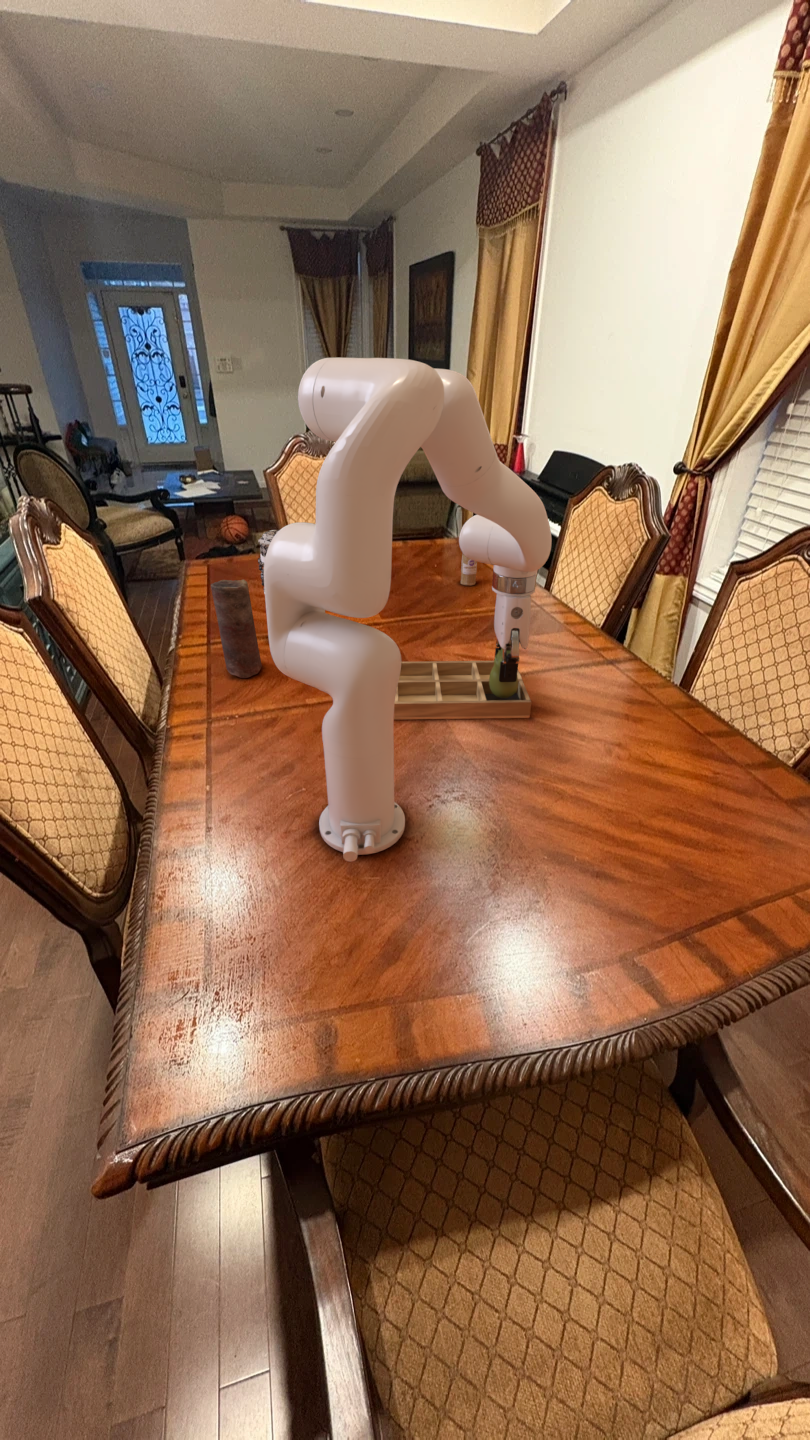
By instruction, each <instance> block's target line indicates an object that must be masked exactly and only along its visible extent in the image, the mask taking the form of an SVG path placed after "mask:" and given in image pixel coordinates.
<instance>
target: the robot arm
mask: <svg viewBox="0 0 810 1440" xmlns="http://www.w3.org/2000/svg"><path fill="white" fill-rule="evenodd" d="M297 401H298V402H297V403H298V404H297V405H298V410H299V413H300V416H301V419H302V420H303V422H304V424H305V426H306V427H307V428H308V429H309V430H310V431H311V433H312V434H314V435H315V436H317V437H318V438H320V439H322V440H325V441H328V442H335V443H333V446H331V448H330V449H329V452H328V453H327V455H326V457H325V458H324V460H323V463H322V464H321V467H320V469H319V473H318V476H317V480H316V485H315V486H316V487H315V523H313V522H305V521H301V522H298V521H297V522H291V523H289V524H287V525H284V526H282V528H280V529H278V530H279V531H278V532H277V533H276V535H275V536H274V537H273V539H272V541H271V542H270V545H269V547H268V550H267V553H266V556H265V562H264V568H263V569H264V586H263V589H265V594H264V600H265V615H266V614H267V615H266V625H267V637H268V644H269V651H270V655H271V659H272V661H273V663H274V665H275V667H276V668H277V669H278V670H279V672H280V673H282V674H283V675H285V676H286V677H288V678H291V679H292V680H295V681H298V682H300V683H302V684H305V685H308V686H309V687H313V688H315V689H317V690H319V691H321V692H323V693H326V694H327V695H329V696H330V697H331V698H332V705H331V706H330V708H329V709H328V710H327V712H326V713H325V714H324V716H323V718H322V725H321V739H322V743H323V746H322V747H323V757H324V759H323V760H324V770H325V781H326V782H325V783H326V794H327V804H328V805H326V807H325V808H323V811H322V812H321V813H320V816H319V822H318V828H319V833H320V836H321V838H322V840H323V841H324V842H325V843H326V844H327V845H328V846H329V847H331V848H332V849H334V850H336V851H338V852H340V853H342V859H343V860H344V861H346V862H351V863H353V862H355V861H356V860H357V859H358V856H360V855H362V856H364V855H372V854H376V853H379V852H382V851H385V850H387V849H388V848H391V847H392V846H394V844H396V843H397V842H398V841H399V839H401V837H402V835H403V834H404V831H405V828H406V816H405V813H404V810H403V809H402V807H401V806H400V805H399V804H398V802H396V801H395V735H394V732H395V731H394V729H395V727H394V723H395V721H394V704H395V696H396V691H397V686H398V681H399V676H400V671H401V662H402V654H401V650H400V648H399V646H398V644H397V643H396V642H395V640H394V639H393V638H392V637H391V636H389V635H388V634H386V633H385V632H383V631H381V630H379V629H378V628H375V627H373V626H370V625H367V624H364V623H361V622H357V621H354V620H351V619H349V618H357V619H368V618H371V617H375V616H376V615H378V614H380V612H382V611H383V610H384V608H385V607H386V605H387V603H388V601H389V597H390V593H391V585H392V563H393V562H392V560H393V559H392V558H393V526H394V524H393V521H394V519H393V518H394V504H395V497H396V493H397V492H396V491H397V488H398V484H399V482H400V480H401V477H402V475H403V473H404V472H405V469H406V468H407V466H408V465H409V464H410V461H411V460H412V459H413V457H414V456H415V455H416V453H417V452H418V450H419V449H420V448H421V449H422V451H423V453H424V455H425V457H426V458H427V461H428V463H429V465H430V467H431V469H432V471H433V474H434V475H435V478H436V479H437V482H438V484H439V486H440V488H441V490H442V492H443V494H444V495H445V496H446V498H448V499H449V500H450V501H451V502H453V503H455V504H456V505H458V506H460V507H462V508H463V509H465V510H467V511H468V512H469V511H470V512H471V513H472V514H475V515H473V516H471V517H470V518H468V519H467V520H466V521H465V522H464V524H463V525H462V527H461V529H460V531H459V536H458V544H459V546H458V547H459V549H460V551H461V553H463V554H464V555H465V556H466V557H468V558H469V559H471V560H474V561H477V563H481V564H487V565H491V566H493V569H492V570H493V571H492V583H491V591H492V592H494V593H495V594H496V598H495V607H494V618H493V628H494V629H493V630H494V633H495V636H496V643H495V646H496V647H495V648H494V649H495V650H494V657H495V656H496V654H497V653H498V650H501V648H503V657H502V662H500V672H499V681H500V682H516V680H517V671H518V670H519V663H520V646H521V649H523V650H527V649H528V648H529V645H530V643H529V642H530V629H531V615H532V611H531V610H532V597H531V596H532V595H533V594H534V593H536V587H537V579H538V570H539V569H541V568H542V567H543V566H544V565H545V564H546V562H547V561H548V559H549V557H550V554H551V551H552V540H553V539H552V530H551V526H550V525H551V524H550V522H549V518H548V514H547V511H546V508H545V505H544V503H543V501H542V499H541V498H540V497H539V495H538V494H537V492H535V490H533V489H532V487H530V485H528V484H527V483H526V482H525V481H524V480H523V479H522V478H521V477H520V476H518V475H517V473H515V472H514V470H512V469H510V468H509V467H508V466H507V465H505V464H504V463H503V462H502V461H500V459H499V456H498V453H497V451H496V448H495V444H494V442H493V439H492V436H491V434H490V431H489V427H488V424H487V421H486V418H485V416H484V413H483V410H482V407H481V404H480V401H479V398H478V395H477V392H476V390H475V388H474V386H473V384H472V383H471V381H470V380H469V379H468V378H467V377H466V376H465V375H464V374H462V373H460V372H458V371H455V370H452V369H446V368H434V367H432V366H430V365H429V364H427V363H424V362H421V361H417V360H414V359H409V358H395V357H394V358H393V357H338V356H337V357H324V358H321V359H318V360H316V361H315V362H313V363H311V364H310V366H308V368H306V370H305V372H304V374H302V377H301V379H300V382H299V386H298V391H297ZM326 611H327V612H330V613H333V614H337V615H340V616H345V617H349V618H348V619H347V618H344V617H340V616H337V615H333V614H330V613H327V612H326ZM507 650H511V652H510V654H508V655H507Z"/></svg>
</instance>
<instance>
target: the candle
mask: <svg viewBox="0 0 810 1440" xmlns="http://www.w3.org/2000/svg"><path fill="white" fill-rule="evenodd" d="M210 589H211V594H212V599H213V604H214V609H215V615H216V619H217V624H218V631H219V636H220V641H221V642H220V643H221V646H222V652H223V657H224V662H225V667H226V670H227V672H228V673H229V674H230V675H233V676H235V677H238V678H240V679H248V678H250V677H253V676H255V675H258V674H259V673H260V670H262V666H263V665H262V659H261V654H260V653H261V652H260V649H259V642H258V638H257V632H256V626H255V620H254V615H253V614H254V613H253V608H252V607H253V606H252V601H251V596H250V589H249V584H248V581H247V580H245V579H241V580H240V579H239V580H238V579H235V580H232V579H231V580H230V579H221V580H218V581H215V582H213V583H210Z"/></svg>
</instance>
